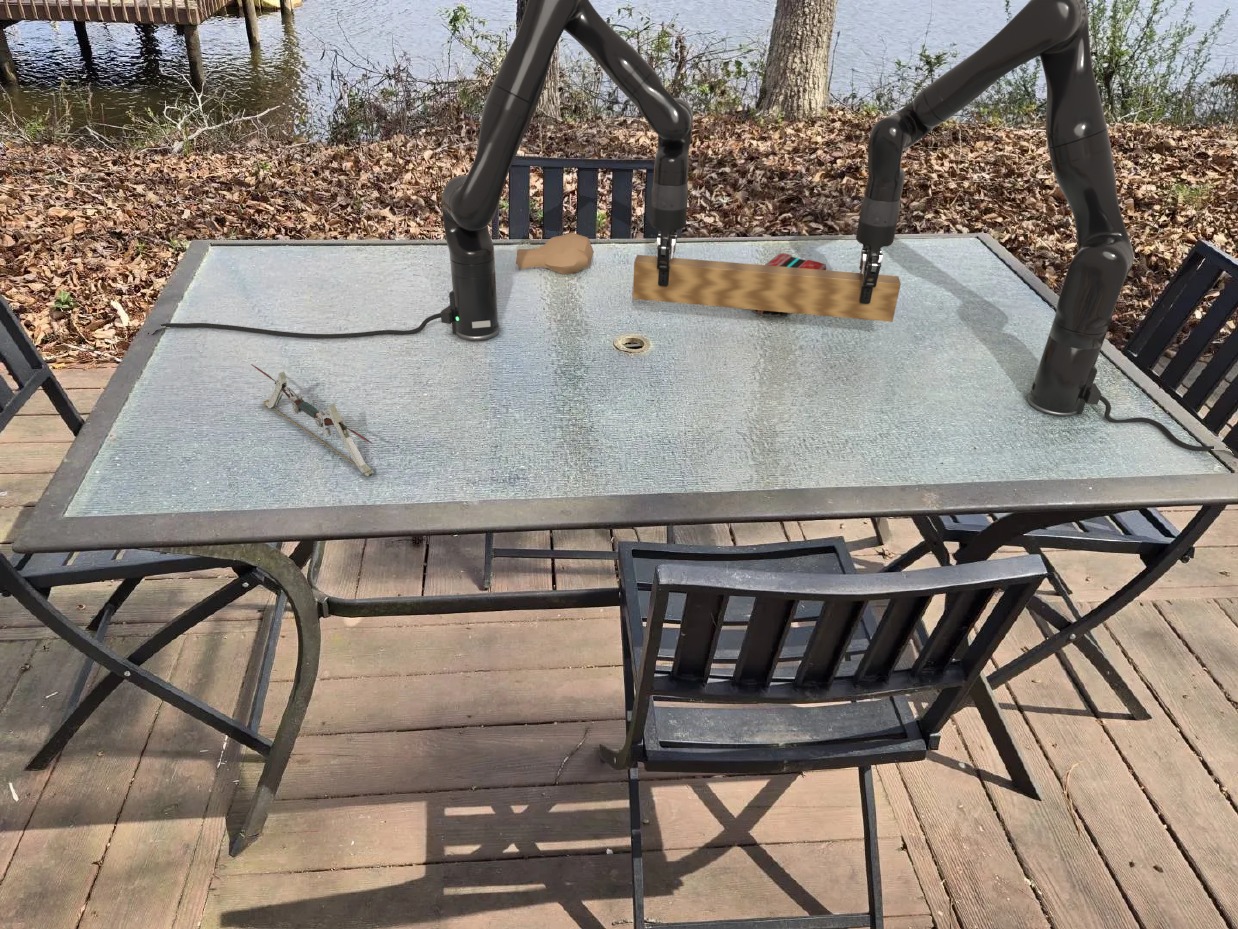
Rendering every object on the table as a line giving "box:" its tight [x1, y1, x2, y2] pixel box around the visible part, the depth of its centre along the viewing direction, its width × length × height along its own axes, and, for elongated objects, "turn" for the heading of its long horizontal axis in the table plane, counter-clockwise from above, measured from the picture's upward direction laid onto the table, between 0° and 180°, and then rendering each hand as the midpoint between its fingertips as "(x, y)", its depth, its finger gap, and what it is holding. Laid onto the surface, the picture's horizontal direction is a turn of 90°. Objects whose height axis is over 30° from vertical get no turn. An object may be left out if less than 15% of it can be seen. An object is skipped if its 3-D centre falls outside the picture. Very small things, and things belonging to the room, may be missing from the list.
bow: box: [250, 363, 375, 477], centre depth 152 cm, size 39×2×10 cm, turn 47°
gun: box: [750, 252, 827, 318], centre depth 215 cm, size 4×31×19 cm
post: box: [632, 254, 902, 323], centre depth 189 cm, size 56×4×9 cm, turn 81°
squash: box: [515, 232, 595, 275], centre depth 223 cm, size 11×20×9 cm, turn 90°
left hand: (664, 280), depth 191 cm, fingers closed on post, 4 cm apart
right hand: (863, 297), depth 186 cm, fingers closed on post, 4 cm apart
